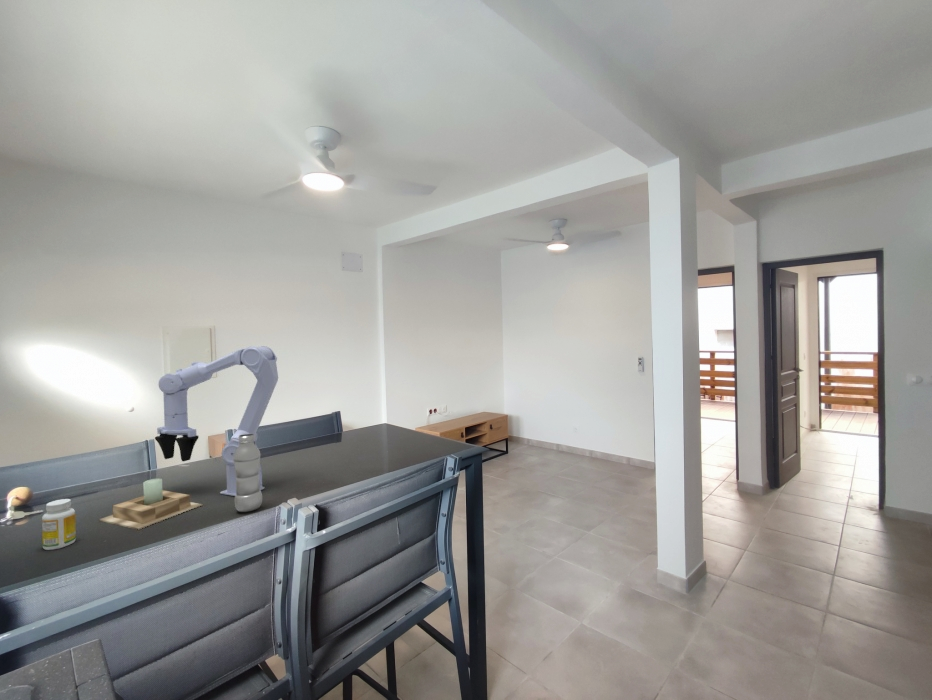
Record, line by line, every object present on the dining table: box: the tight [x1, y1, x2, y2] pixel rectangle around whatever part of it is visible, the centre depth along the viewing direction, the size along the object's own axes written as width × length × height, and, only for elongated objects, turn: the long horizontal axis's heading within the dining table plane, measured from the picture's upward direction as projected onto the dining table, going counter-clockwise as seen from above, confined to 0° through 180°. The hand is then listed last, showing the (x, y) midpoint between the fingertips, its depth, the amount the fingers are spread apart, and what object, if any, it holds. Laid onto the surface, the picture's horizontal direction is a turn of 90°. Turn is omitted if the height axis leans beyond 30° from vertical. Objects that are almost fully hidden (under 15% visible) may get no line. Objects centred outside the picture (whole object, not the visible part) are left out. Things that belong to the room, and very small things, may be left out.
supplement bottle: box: [41, 498, 77, 551], centre depth 95 cm, size 5×5×10 cm
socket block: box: [98, 489, 204, 531], centre depth 112 cm, size 16×16×3 cm
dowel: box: [142, 478, 164, 506], centre depth 112 cm, size 4×4×8 cm
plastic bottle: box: [233, 434, 263, 513], centre depth 112 cm, size 6×7×20 cm
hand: (177, 459), depth 126 cm, fingers open, 7 cm apart
